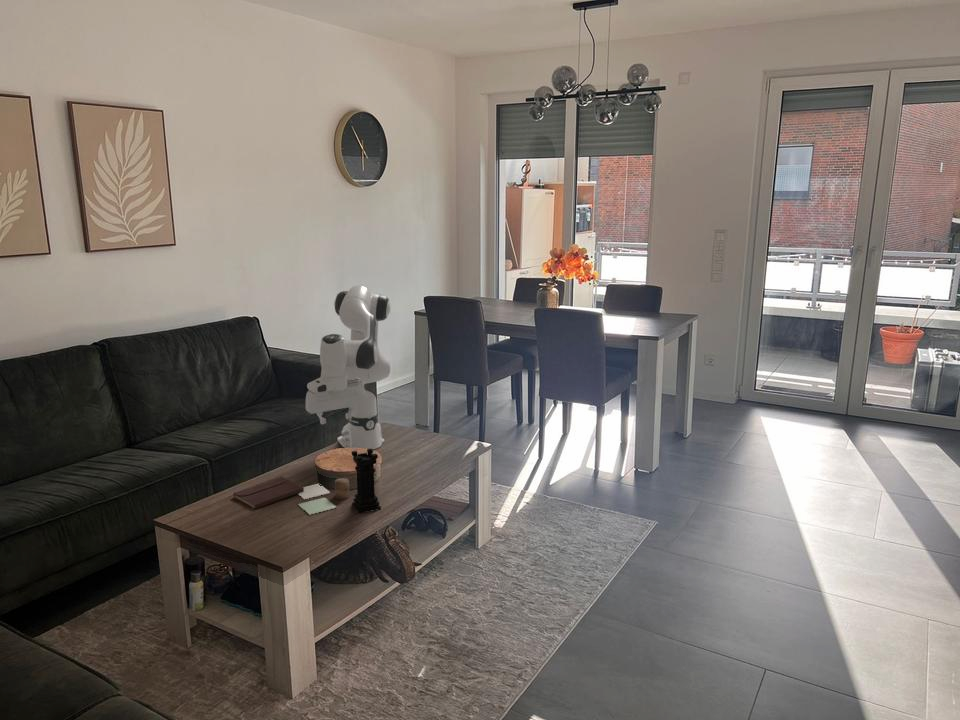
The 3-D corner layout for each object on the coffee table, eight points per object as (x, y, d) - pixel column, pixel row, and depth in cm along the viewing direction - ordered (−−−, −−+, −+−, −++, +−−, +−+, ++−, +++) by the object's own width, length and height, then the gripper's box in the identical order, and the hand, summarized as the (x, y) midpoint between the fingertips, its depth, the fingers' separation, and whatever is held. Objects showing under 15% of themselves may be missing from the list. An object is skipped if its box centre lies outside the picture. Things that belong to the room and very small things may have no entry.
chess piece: (374, 500, 253) (372, 447, 248) (380, 509, 246) (379, 455, 241) (352, 504, 250) (350, 451, 245) (358, 513, 243) (356, 458, 238)
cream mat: (293, 490, 261) (293, 489, 261) (319, 484, 267) (319, 483, 267) (304, 499, 253) (304, 498, 253) (330, 493, 259) (330, 492, 259)
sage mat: (298, 505, 249) (298, 504, 249) (324, 498, 254) (324, 497, 254) (309, 515, 241) (309, 514, 241) (336, 508, 247) (336, 507, 246)
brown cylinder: (333, 495, 257) (332, 480, 255) (345, 492, 260) (345, 477, 258) (339, 500, 253) (338, 484, 252) (351, 497, 256) (351, 481, 254)
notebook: (304, 491, 259) (303, 486, 259) (255, 509, 245) (254, 504, 245) (281, 480, 269) (281, 475, 268) (233, 497, 255) (233, 492, 254)
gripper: (358, 376, 248) (359, 413, 252) (302, 384, 237) (304, 423, 240) (366, 380, 243) (367, 418, 247) (309, 389, 232) (311, 429, 235)
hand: (336, 421), depth 243 cm, fingers open, 8 cm apart
